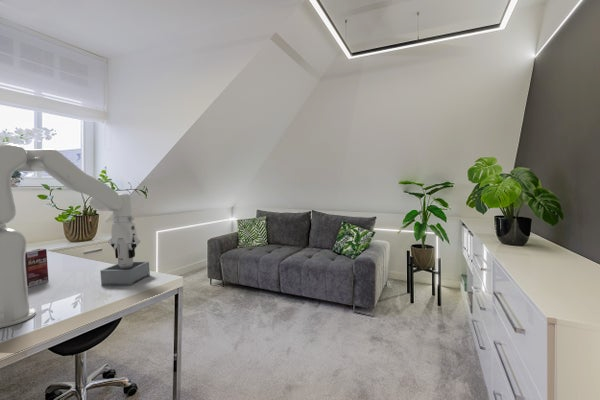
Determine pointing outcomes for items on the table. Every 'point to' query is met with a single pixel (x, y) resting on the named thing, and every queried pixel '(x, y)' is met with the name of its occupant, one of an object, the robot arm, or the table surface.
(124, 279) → the desk bin
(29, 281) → the supplement box
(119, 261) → the energy drink can
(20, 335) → the table surface
